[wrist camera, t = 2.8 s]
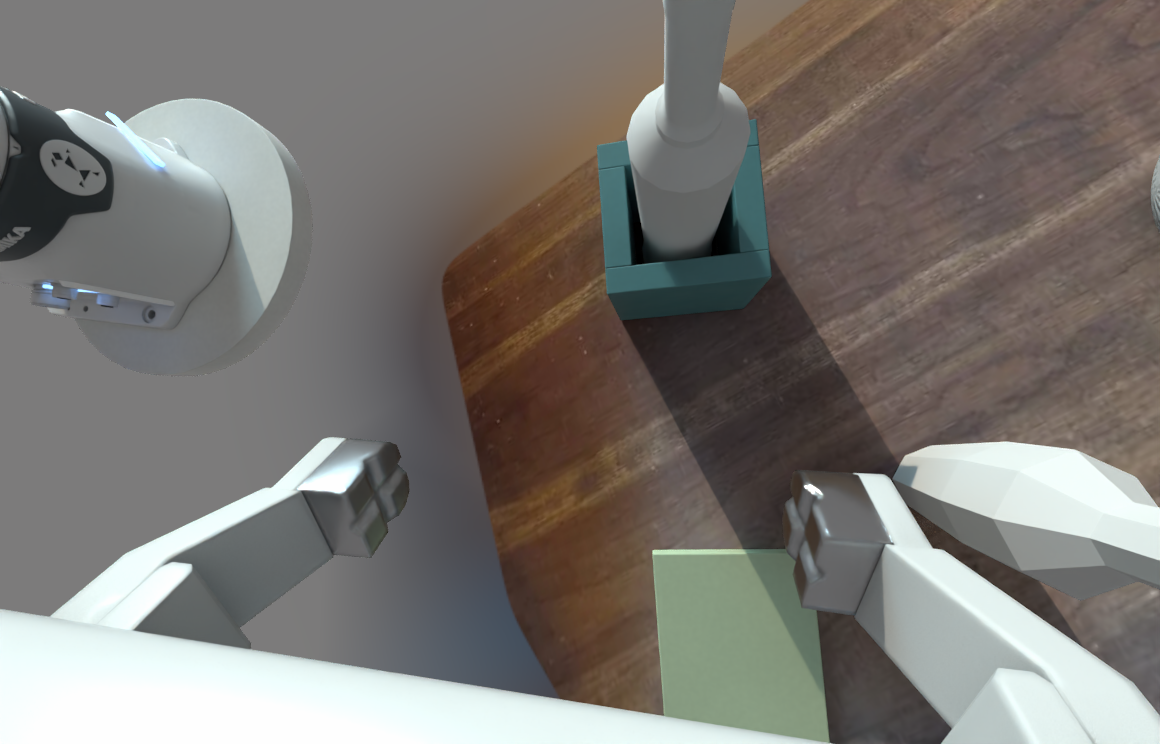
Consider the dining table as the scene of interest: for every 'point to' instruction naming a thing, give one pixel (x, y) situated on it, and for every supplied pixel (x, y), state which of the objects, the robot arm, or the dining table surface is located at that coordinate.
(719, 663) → the mat
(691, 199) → the bottle
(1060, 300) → the dining table surface
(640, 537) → the dining table surface
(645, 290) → the holster
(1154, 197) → the planter
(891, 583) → the robot arm
